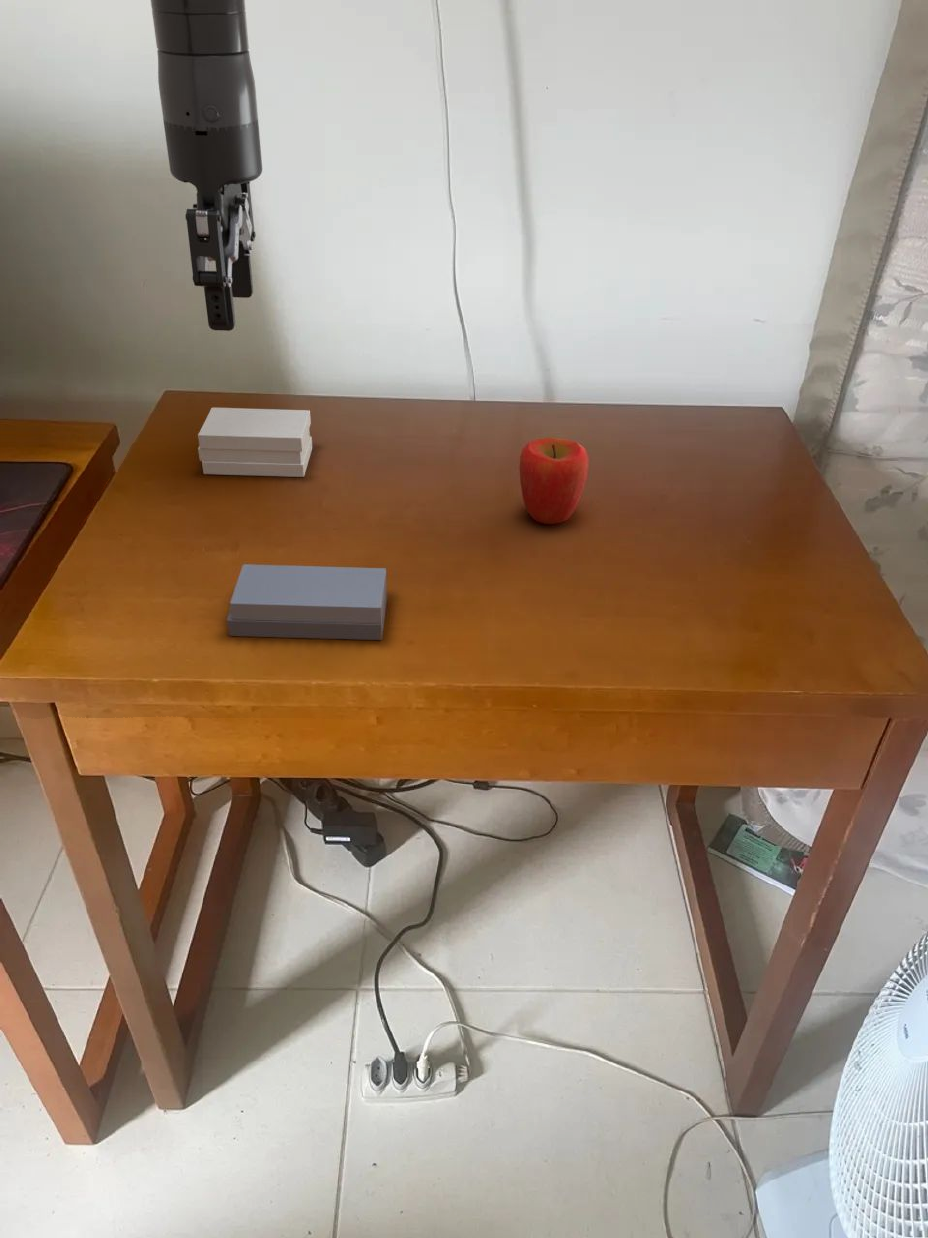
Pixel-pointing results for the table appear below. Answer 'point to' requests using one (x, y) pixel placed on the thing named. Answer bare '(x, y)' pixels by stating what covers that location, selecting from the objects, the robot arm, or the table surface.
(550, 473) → the apple
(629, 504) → the table surface
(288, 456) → the white books
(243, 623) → the grey books
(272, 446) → the white book
